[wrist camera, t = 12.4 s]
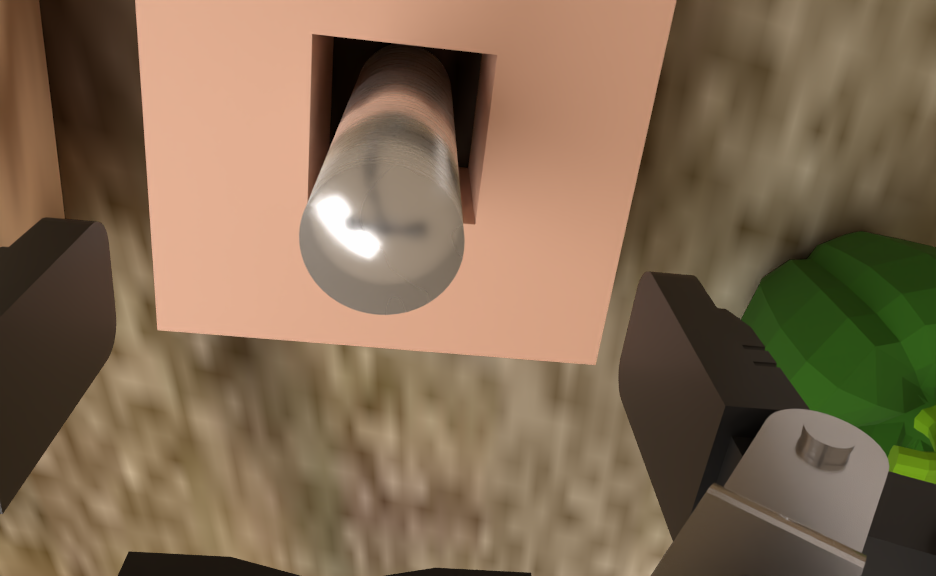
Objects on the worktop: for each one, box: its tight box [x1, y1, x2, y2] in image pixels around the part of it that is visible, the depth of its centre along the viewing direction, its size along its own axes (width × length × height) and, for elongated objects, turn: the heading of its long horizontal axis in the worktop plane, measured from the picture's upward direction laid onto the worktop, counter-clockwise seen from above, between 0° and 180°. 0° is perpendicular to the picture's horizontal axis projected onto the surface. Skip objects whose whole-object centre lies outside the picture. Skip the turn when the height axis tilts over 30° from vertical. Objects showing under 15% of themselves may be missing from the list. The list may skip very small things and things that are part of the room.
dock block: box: [135, 0, 676, 365], centre depth 23 cm, size 13×13×5 cm
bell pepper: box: [741, 231, 936, 484], centre depth 25 cm, size 8×8×10 cm
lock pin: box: [299, 44, 465, 315], centre depth 20 cm, size 3×3×12 cm
